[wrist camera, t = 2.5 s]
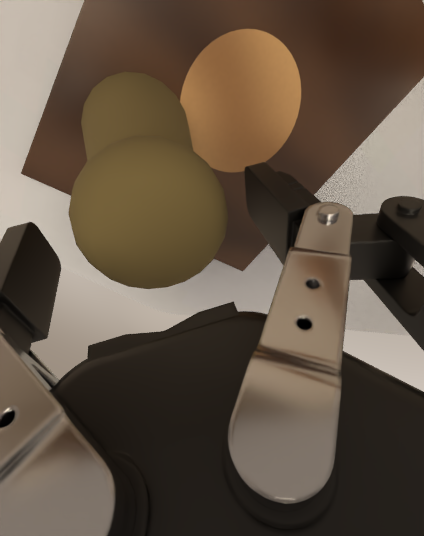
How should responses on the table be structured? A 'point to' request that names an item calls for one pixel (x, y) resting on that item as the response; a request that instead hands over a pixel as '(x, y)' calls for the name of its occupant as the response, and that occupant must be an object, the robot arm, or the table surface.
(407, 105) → the table surface
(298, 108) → the placemat
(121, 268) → the pepper shaker
